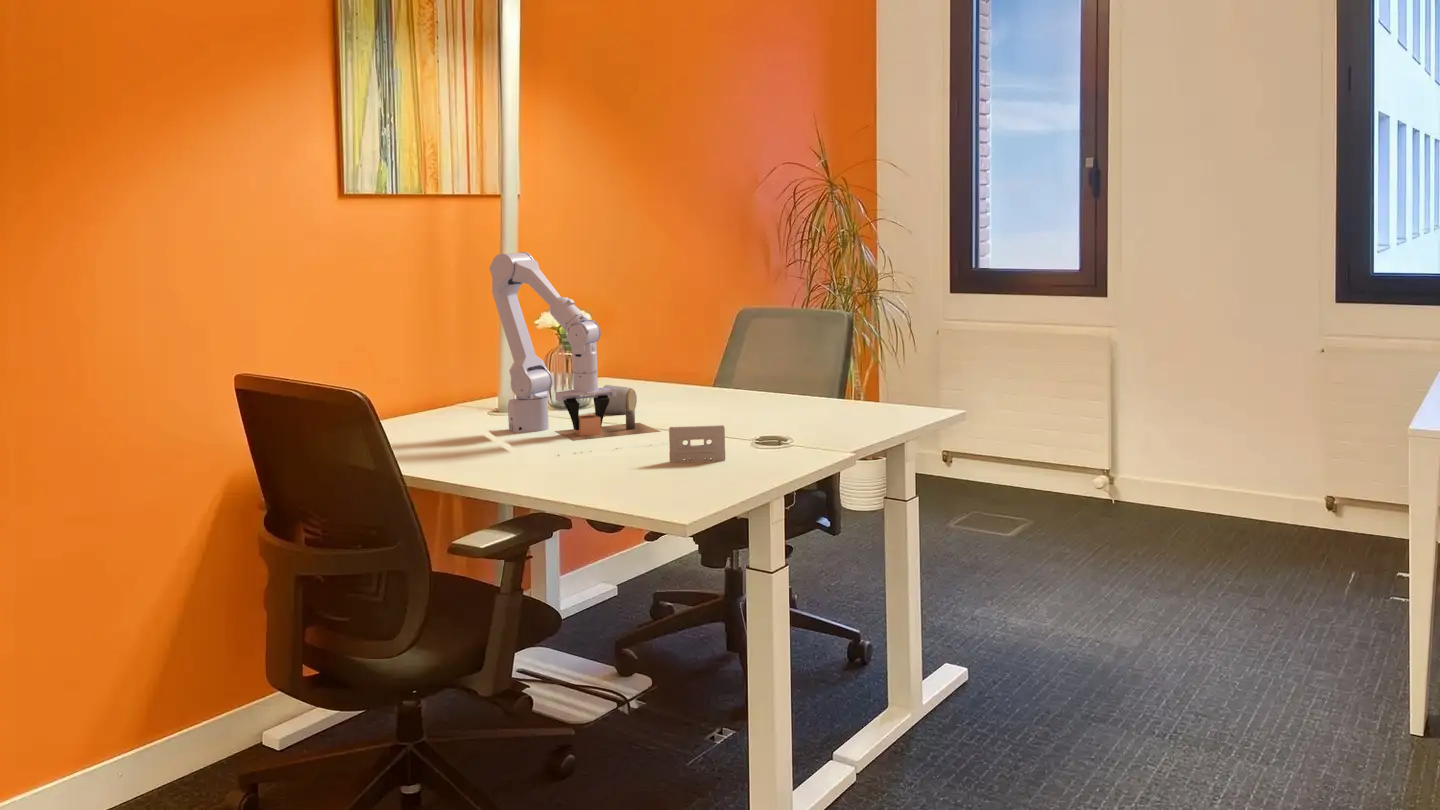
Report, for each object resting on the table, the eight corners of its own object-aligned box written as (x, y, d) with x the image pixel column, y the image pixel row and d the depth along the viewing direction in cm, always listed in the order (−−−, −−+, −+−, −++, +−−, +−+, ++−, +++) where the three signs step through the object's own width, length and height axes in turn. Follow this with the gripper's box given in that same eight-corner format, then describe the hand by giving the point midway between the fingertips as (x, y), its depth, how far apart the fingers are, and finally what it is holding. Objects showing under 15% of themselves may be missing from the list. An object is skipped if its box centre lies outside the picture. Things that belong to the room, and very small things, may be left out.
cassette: (669, 463, 263) (668, 428, 262) (669, 461, 265) (668, 426, 264) (725, 461, 264) (725, 426, 263) (725, 459, 266) (724, 424, 265)
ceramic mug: (628, 416, 322) (627, 387, 321) (599, 415, 325) (598, 386, 324) (642, 410, 332) (642, 382, 331) (614, 409, 335) (613, 381, 334)
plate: (573, 444, 286) (572, 421, 285) (554, 435, 298) (553, 412, 297) (660, 435, 295) (660, 412, 294) (639, 426, 307) (638, 404, 306)
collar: (581, 435, 291) (580, 419, 290) (574, 432, 295) (573, 416, 295) (601, 433, 293) (600, 417, 292) (594, 430, 297) (593, 414, 297)
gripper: (561, 376, 285) (563, 433, 287) (619, 371, 291) (621, 427, 293) (552, 372, 291) (554, 429, 294) (609, 368, 298) (611, 423, 300)
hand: (587, 428), depth 294 cm, fingers closed on collar, 5 cm apart
